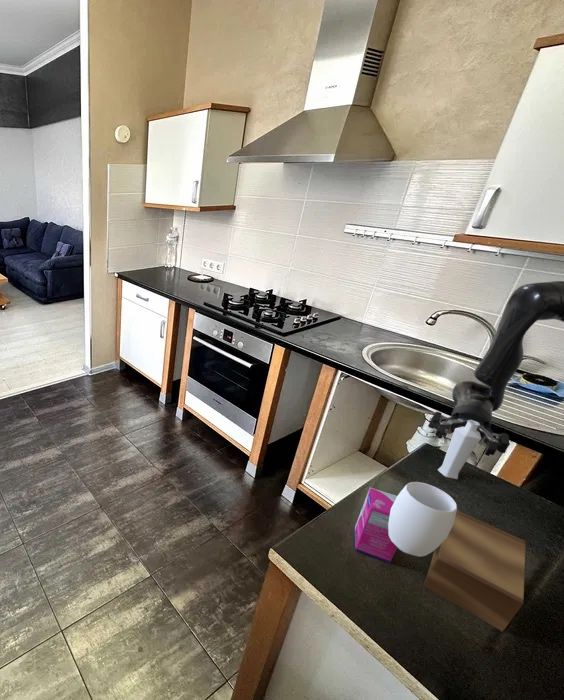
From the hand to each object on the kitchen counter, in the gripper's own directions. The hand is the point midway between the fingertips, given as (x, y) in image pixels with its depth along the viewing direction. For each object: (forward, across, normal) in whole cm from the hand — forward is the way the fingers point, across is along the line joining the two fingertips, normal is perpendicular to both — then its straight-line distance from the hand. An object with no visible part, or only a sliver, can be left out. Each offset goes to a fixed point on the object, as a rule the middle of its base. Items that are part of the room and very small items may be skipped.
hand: (464, 443), depth 89 cm
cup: (+46, -4, +9) cm, 47 cm away
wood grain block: (+34, +6, +8) cm, 35 cm away
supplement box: (+39, -8, +9) cm, 41 cm away
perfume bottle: (+1, 0, +9) cm, 9 cm away
